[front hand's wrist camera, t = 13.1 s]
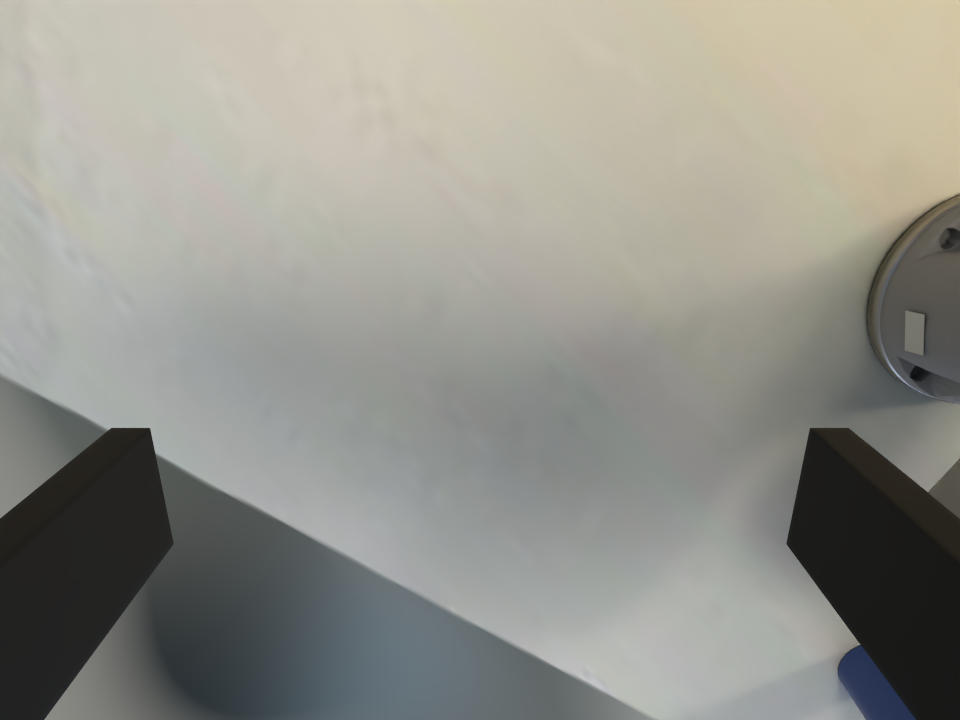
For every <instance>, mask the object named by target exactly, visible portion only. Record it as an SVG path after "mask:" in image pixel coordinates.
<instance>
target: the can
mask: <svg viewBox="0 0 960 720" xmlns="http://www.w3.org/2000/svg"><path fill="white" fill-rule="evenodd" d="M838 676H839V679H840V680H841V682H842V684H843V685H844V687H845V688H846V690H847V691H848V693H849V694H850V696H851V697H852V699H853V700H854V702H855V704H856V705H857V707H858V708H859V710H860V711H861V713H862V714H863V716H864V717H865V719H866V720H916V719H915V718H914V716H913V715H912V714H911V712H910V711H909V710H908V708H907V707H906V706H905V704H904V703H903V701H902V700H901V699H900V697H899V696H898V695H897V693H896V692H895V691H894V689H893V688H892V687H891V685H890V684H889V682H888V681H887V680H886V678H885V677H884V676H883V674H882V673H881V672H880V670H879V669H878V668H877V666H876V665H875V663H874V662H873V661H872V659H871V658H870V657H869V655H868V654H867V653H866V651H865V650H864V649H863V647H862V646H861V645H860V646H858V647H856V648H854V649H853V650H851V651H850V652H848V653H847V654H846V655H845V656H844V657H843V659H842V660H841V662H840V664H839V667H838Z"/></svg>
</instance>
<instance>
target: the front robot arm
mask: <svg viewBox="0 0 960 720" xmlns="http://www.w3.org/2000/svg"><path fill="white" fill-rule="evenodd" d="M868 331H869V336H870V340H871V343H872V346H873V349H874V351H875V353H876V355H877V357H878V358H879V360H880V362H881V363H882V364H883V366H884V367H885V368H886V369H887V370H888V371H889V372H890V373H891V374H892V375H893V376H894V377H896V378H897V379H898V380H900V381H901V382H903V383H905V384H906V385H908V386H910V387H911V388H913V389H915V390H916V391H918V392H920V393H922V394H924V395H927V396H929V397H933V398H936V399H939V400H942V401H945V402H950V403H956V404H960V195H959V196H956V197H954V198H952V199H950V200H948V201H946V202H944V203H942V204H941V205H939V206H937V207H936V208H934V209H933V210H931V211H930V212H928V213H927V214H925V215H924V216H923V217H922V218H920V219H919V220H918V221H917V222H916V223H914V224H913V225H912V226H911V227H910V228H909V229H908V230H907V231H906V232H905V233H904V234H903V236H902V237H901V238H900V239H899V240H898V241H897V243H896V244H895V245H894V246H893V248H892V249H891V250H890V252H889V254H888V255H887V257H886V258H885V260H884V262H883V263H882V265H881V267H880V269H879V271H878V274H877V276H876V278H875V281H874V284H873V287H872V290H871V294H870V298H869V305H868ZM172 545H173V539H172V534H171V529H170V524H169V519H168V514H167V509H166V504H165V500H164V495H163V490H162V485H161V480H160V475H159V470H158V465H157V460H156V455H155V450H154V445H153V441H152V436H151V431H150V428H111V429H110V430H108V431H107V432H106V433H105V434H104V435H102V436H101V437H100V438H99V439H97V440H96V441H95V442H94V443H93V444H91V445H90V446H89V447H88V448H86V449H85V450H84V451H83V452H81V453H80V454H79V455H78V456H77V457H75V458H74V459H73V460H72V461H70V462H69V463H68V464H67V465H65V466H64V467H63V468H62V469H61V470H59V471H58V472H57V473H56V474H55V475H53V476H52V477H51V478H50V479H48V480H47V481H46V482H45V483H43V484H42V485H41V486H40V487H38V488H37V489H36V490H35V491H34V492H32V493H31V494H30V495H29V496H27V497H26V498H25V499H24V500H23V501H21V502H20V503H19V504H18V505H16V506H15V507H14V508H13V509H11V510H10V511H9V512H8V513H7V514H5V515H4V516H3V517H2V518H0V720H44V719H45V718H46V716H47V715H48V714H49V712H50V711H51V710H52V708H53V707H54V706H55V704H56V703H57V701H58V700H59V699H60V697H61V696H62V695H63V693H64V692H65V690H66V689H67V688H68V687H69V685H70V684H71V682H72V681H73V680H74V678H75V677H76V676H77V674H78V673H79V672H80V670H81V669H82V668H83V666H84V665H85V663H86V662H87V661H88V659H89V658H90V657H91V655H92V654H93V653H94V651H95V650H96V649H97V647H98V646H99V644H100V643H101V642H102V640H103V639H104V638H105V636H106V635H107V634H108V632H109V631H110V630H111V628H112V627H113V625H114V624H115V623H116V621H117V620H118V619H119V617H120V616H121V615H122V613H123V612H124V611H125V609H126V608H127V606H128V605H129V604H130V602H131V601H132V600H133V598H134V597H135V596H136V594H137V593H138V591H139V590H140V589H141V587H142V586H143V585H144V583H145V582H146V581H147V579H148V578H149V577H150V575H151V574H152V573H153V571H154V570H155V568H156V567H157V566H158V564H159V563H160V562H161V560H162V559H163V558H164V556H165V555H166V553H167V552H168V551H169V549H170V548H171V547H172ZM787 545H788V547H789V548H790V549H791V551H792V552H793V553H794V555H795V556H796V558H797V559H798V560H799V562H800V563H801V564H802V566H803V567H804V568H805V570H806V571H807V573H808V574H809V575H810V577H811V578H812V579H813V581H814V582H815V583H816V585H817V586H818V587H819V589H820V590H821V592H822V593H823V594H824V596H825V597H826V598H827V600H828V601H829V602H830V604H831V605H832V606H833V608H834V609H835V611H836V612H837V613H838V615H839V616H840V617H841V619H842V620H843V621H844V623H845V624H846V625H847V627H848V628H849V630H850V631H851V632H852V634H853V635H854V636H855V638H856V639H857V640H858V642H859V643H860V644H861V646H862V647H863V649H864V650H865V651H866V653H867V654H868V655H869V657H870V658H871V659H872V661H873V662H874V663H875V665H876V666H877V668H878V669H879V670H880V672H881V673H882V674H883V676H884V677H885V678H886V680H887V681H888V682H889V684H890V685H891V687H892V688H893V689H894V691H895V692H896V693H897V695H898V696H899V697H900V699H901V700H902V701H903V703H904V704H905V706H906V707H907V708H908V710H909V711H910V712H911V714H912V715H913V716H914V718H915V719H916V720H960V459H959V460H958V461H957V462H956V463H955V464H954V466H953V467H952V468H951V469H950V470H949V471H948V472H947V473H946V474H945V475H944V476H943V477H942V478H941V479H940V480H939V481H938V482H937V483H936V484H935V485H934V486H933V488H932V489H931V490H930V491H929V492H926V491H925V490H924V489H923V488H922V487H920V486H919V485H918V484H917V483H915V482H914V481H913V480H912V479H910V478H909V477H908V476H907V475H906V474H904V473H903V472H902V471H901V470H899V469H898V468H897V467H896V466H895V465H893V464H892V463H891V462H890V461H888V460H887V459H886V458H885V457H883V456H882V455H881V454H880V453H879V452H877V451H876V450H875V449H874V448H872V447H871V446H870V445H869V444H868V443H866V442H865V441H864V440H863V439H861V438H860V437H859V436H858V435H856V434H855V433H854V432H853V431H852V430H850V429H849V428H810V431H809V436H808V441H807V445H806V450H805V455H804V460H803V465H802V470H801V475H800V480H799V485H798V490H797V495H796V499H795V504H794V509H793V514H792V519H791V524H790V529H789V534H788V539H787Z"/></svg>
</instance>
